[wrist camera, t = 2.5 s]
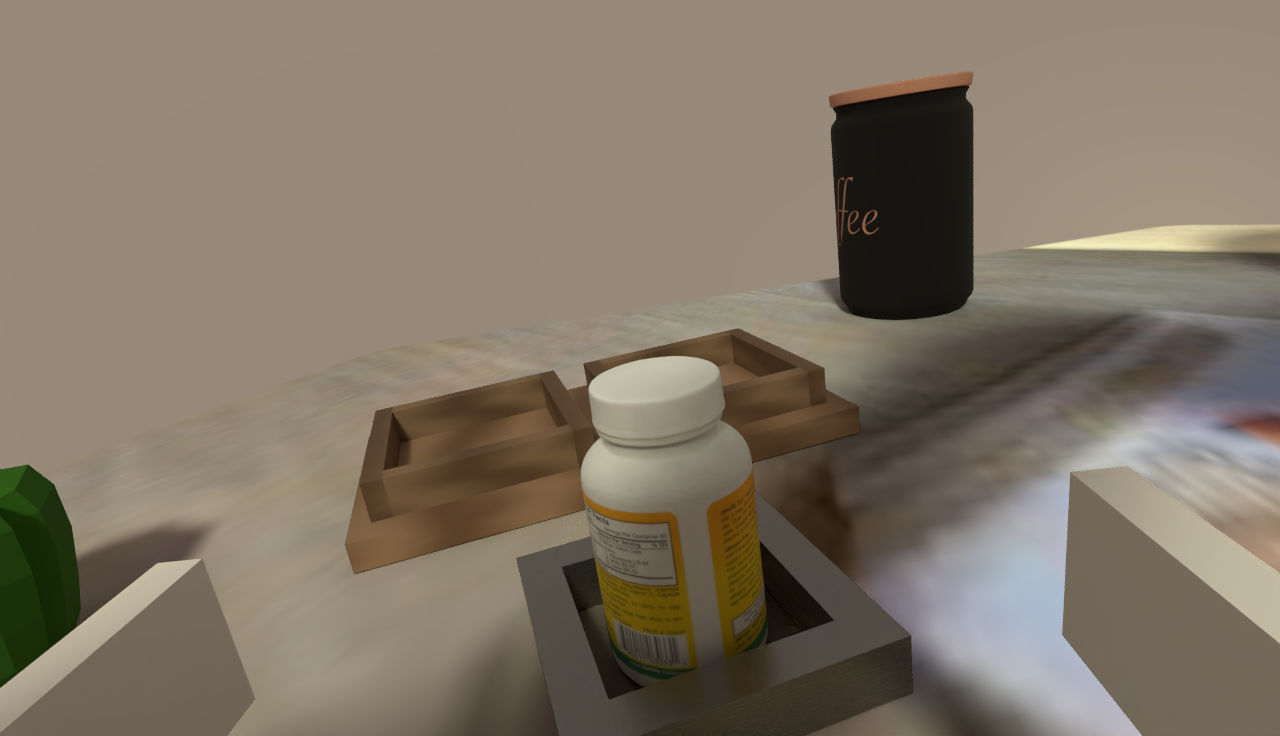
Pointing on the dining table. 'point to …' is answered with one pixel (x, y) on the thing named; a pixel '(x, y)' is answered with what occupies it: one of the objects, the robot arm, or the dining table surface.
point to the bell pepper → (34, 570)
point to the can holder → (739, 685)
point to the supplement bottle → (672, 519)
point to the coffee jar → (904, 196)
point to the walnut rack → (553, 446)
